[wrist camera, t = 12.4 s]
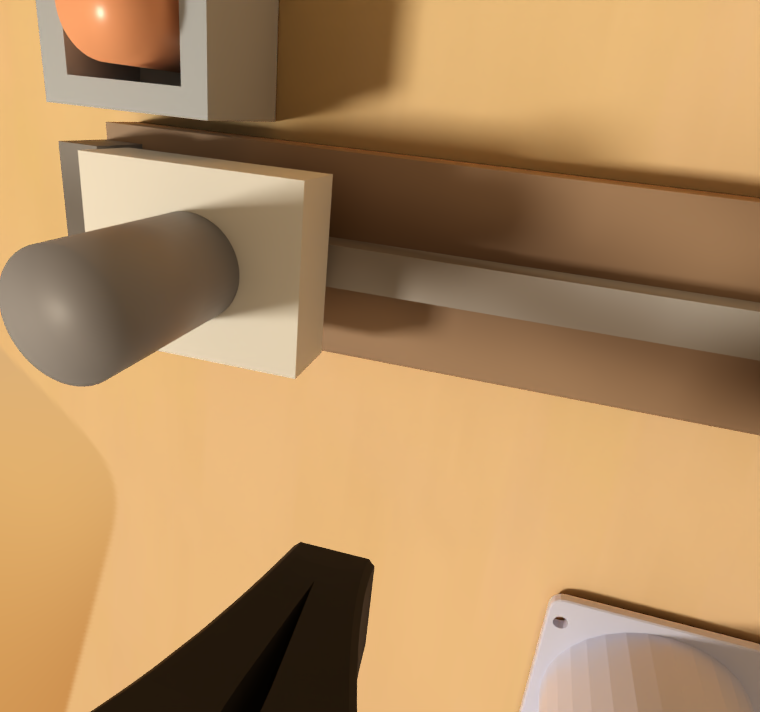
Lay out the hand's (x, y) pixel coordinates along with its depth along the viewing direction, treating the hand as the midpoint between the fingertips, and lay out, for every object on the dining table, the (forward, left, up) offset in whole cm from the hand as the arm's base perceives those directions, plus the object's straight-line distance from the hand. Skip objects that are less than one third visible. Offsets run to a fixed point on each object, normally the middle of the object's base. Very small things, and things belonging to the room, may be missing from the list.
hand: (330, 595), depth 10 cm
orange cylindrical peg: (+9, +8, -9) cm, 16 cm away
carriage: (+4, +6, -8) cm, 10 cm away
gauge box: (+9, +8, -10) cm, 16 cm away
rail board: (+4, 0, -10) cm, 11 cm away
